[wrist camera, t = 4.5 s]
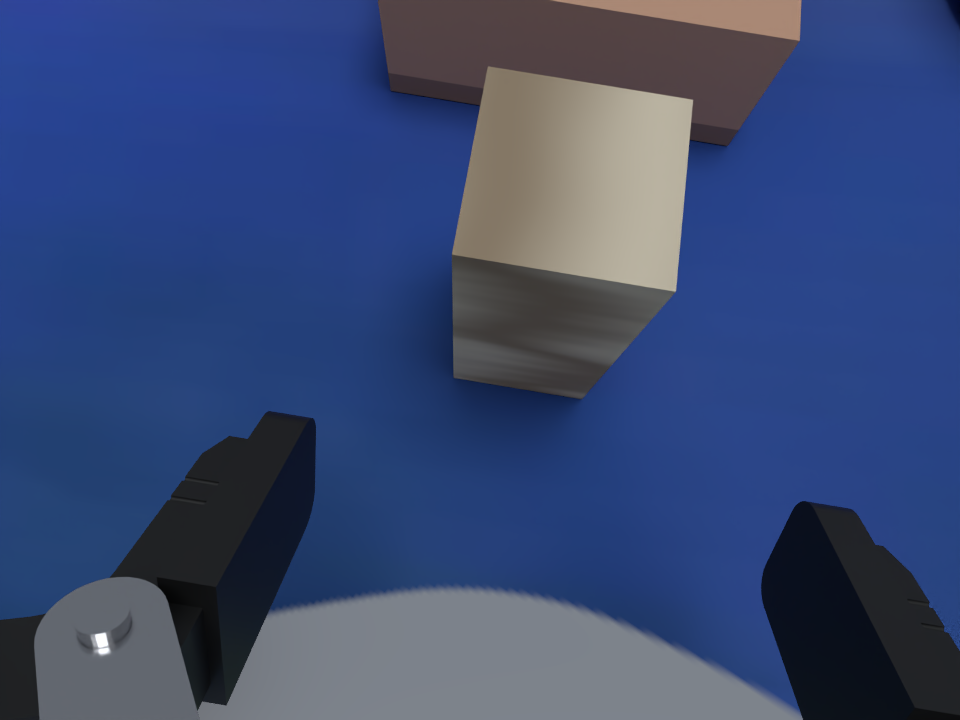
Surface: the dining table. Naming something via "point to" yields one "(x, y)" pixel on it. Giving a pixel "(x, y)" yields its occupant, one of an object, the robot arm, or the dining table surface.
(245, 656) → the robot arm
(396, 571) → the dining table surface
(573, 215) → the post
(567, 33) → the well
